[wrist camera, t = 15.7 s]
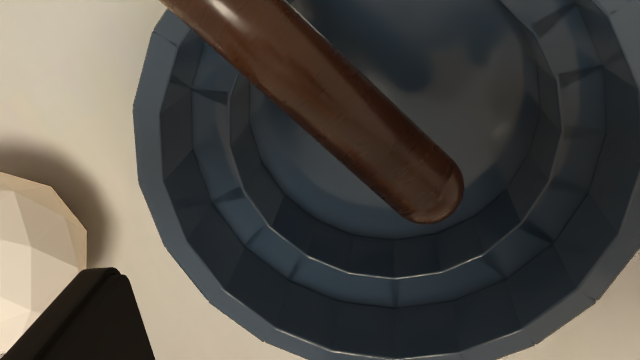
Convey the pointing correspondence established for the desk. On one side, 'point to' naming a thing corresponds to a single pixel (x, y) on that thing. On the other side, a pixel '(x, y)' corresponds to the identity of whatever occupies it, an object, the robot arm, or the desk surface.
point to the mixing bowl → (376, 215)
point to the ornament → (34, 253)
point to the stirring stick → (330, 102)
